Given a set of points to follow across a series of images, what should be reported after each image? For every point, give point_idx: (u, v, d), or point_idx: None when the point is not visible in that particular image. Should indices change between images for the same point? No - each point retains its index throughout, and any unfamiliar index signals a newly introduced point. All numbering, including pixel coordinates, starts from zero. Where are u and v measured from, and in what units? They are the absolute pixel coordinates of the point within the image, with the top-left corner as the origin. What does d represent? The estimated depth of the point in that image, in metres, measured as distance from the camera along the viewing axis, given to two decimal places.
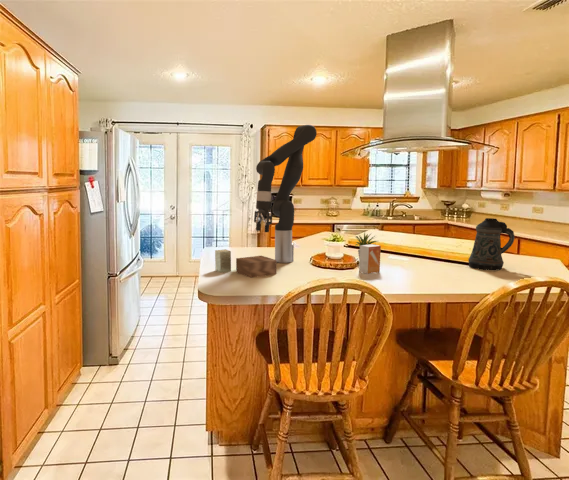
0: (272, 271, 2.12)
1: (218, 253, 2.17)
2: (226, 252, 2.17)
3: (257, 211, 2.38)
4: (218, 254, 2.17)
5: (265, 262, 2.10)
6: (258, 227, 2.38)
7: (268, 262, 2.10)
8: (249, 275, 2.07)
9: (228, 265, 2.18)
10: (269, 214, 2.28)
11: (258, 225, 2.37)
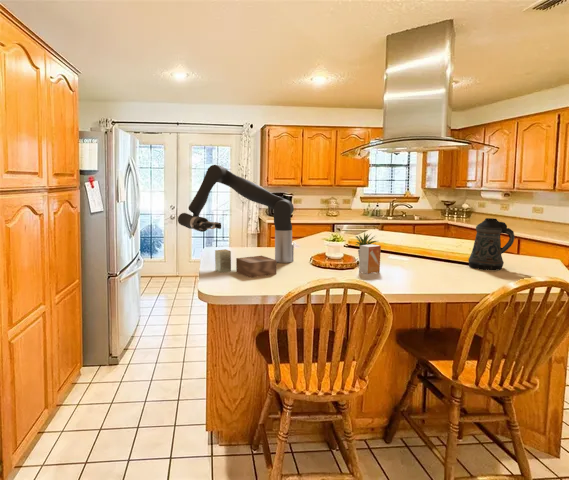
0: (271, 271, 2.12)
1: (218, 253, 2.17)
2: (226, 252, 2.17)
3: None
4: (218, 254, 2.17)
5: (265, 262, 2.09)
6: (218, 226, 2.30)
7: (268, 262, 2.10)
8: (249, 275, 2.07)
9: (228, 265, 2.18)
10: (192, 226, 2.30)
11: (217, 226, 2.31)
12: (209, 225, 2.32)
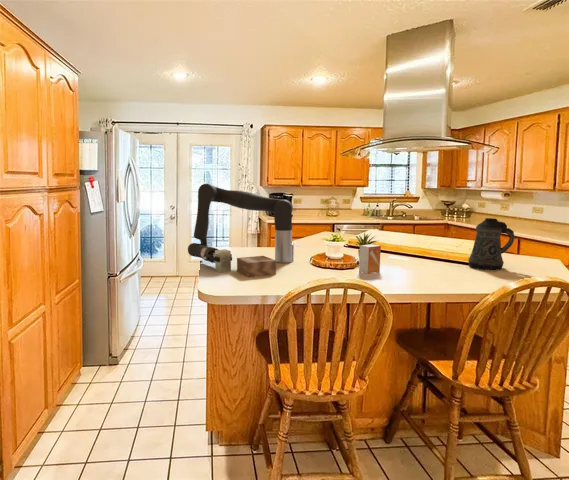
0: (271, 271, 2.11)
1: (217, 253, 2.17)
2: (226, 252, 2.17)
3: None
4: (218, 254, 2.17)
5: (264, 262, 2.09)
6: None
7: (267, 262, 2.10)
8: (247, 275, 2.07)
9: (228, 265, 2.18)
10: (204, 258, 2.21)
11: None
12: None
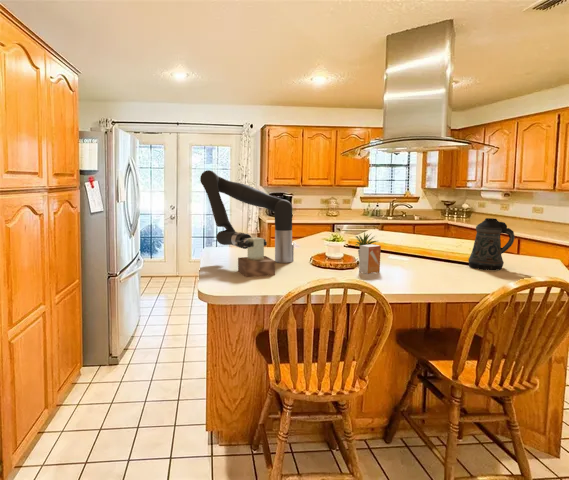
0: (270, 272, 2.11)
1: (250, 241, 2.12)
2: (259, 240, 2.11)
3: None
4: (251, 242, 2.11)
5: (262, 262, 2.09)
6: None
7: (266, 263, 2.09)
8: (245, 275, 2.08)
9: (261, 253, 2.13)
10: (235, 244, 2.16)
11: None
12: None
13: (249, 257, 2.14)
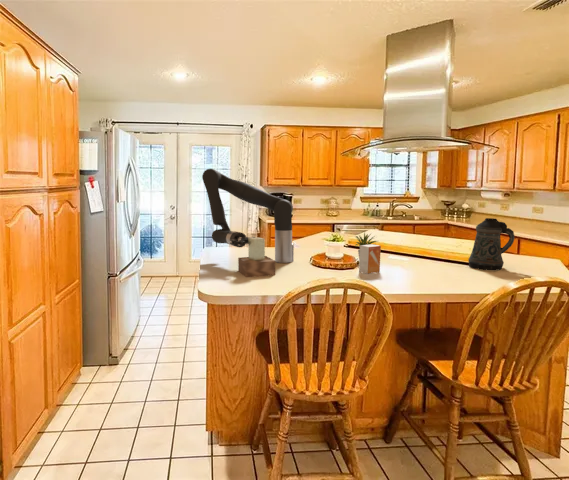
0: (270, 272, 2.11)
1: (251, 241, 2.11)
2: (260, 240, 2.11)
3: None
4: (252, 242, 2.11)
5: (263, 262, 2.09)
6: None
7: (266, 263, 2.09)
8: (245, 275, 2.07)
9: (262, 253, 2.12)
10: (230, 242, 2.21)
11: None
12: (247, 240, 2.22)
13: (250, 257, 2.14)
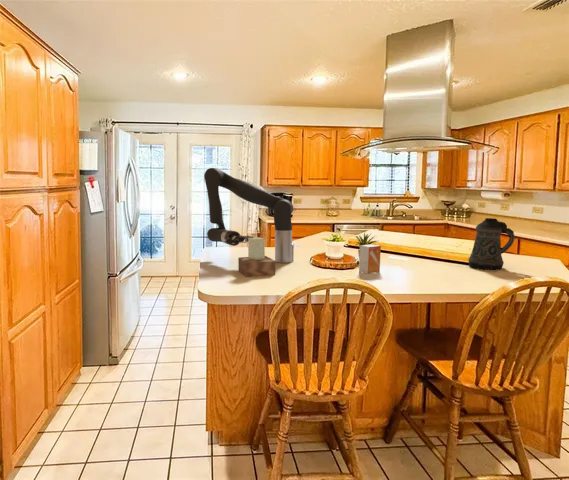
0: (270, 272, 2.11)
1: (251, 241, 2.12)
2: (260, 240, 2.11)
3: (245, 239, 2.33)
4: (252, 242, 2.11)
5: (263, 262, 2.09)
6: None
7: (266, 263, 2.09)
8: (245, 275, 2.08)
9: (262, 253, 2.13)
10: (224, 241, 2.26)
11: None
12: (241, 239, 2.27)
13: (250, 257, 2.14)
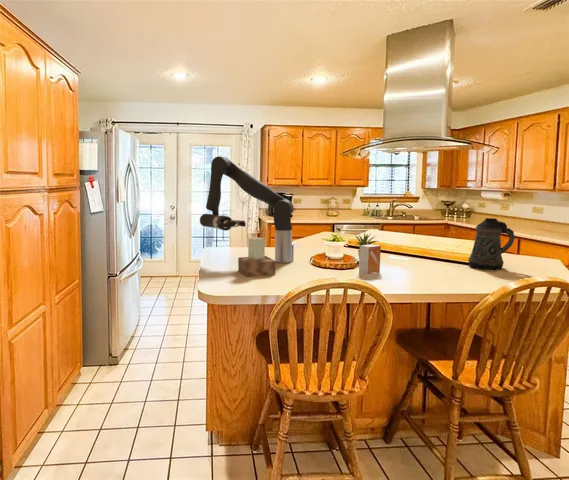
0: (270, 272, 2.11)
1: (251, 241, 2.12)
2: (260, 240, 2.11)
3: None
4: (252, 242, 2.11)
5: (263, 262, 2.09)
6: (242, 224, 2.29)
7: (266, 263, 2.10)
8: (245, 275, 2.08)
9: (262, 253, 2.13)
10: (216, 225, 2.29)
11: (241, 224, 2.30)
12: (233, 223, 2.31)
13: (250, 257, 2.14)
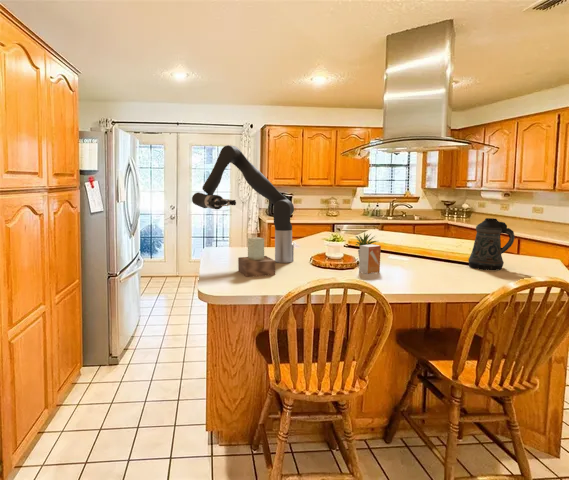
0: (270, 271, 2.11)
1: (251, 241, 2.12)
2: (259, 239, 2.12)
3: None
4: (251, 242, 2.11)
5: (263, 262, 2.09)
6: (232, 203, 2.32)
7: (266, 262, 2.10)
8: (245, 275, 2.08)
9: (261, 253, 2.13)
10: (207, 203, 2.32)
11: (232, 203, 2.33)
12: (224, 202, 2.34)
13: (249, 257, 2.14)
